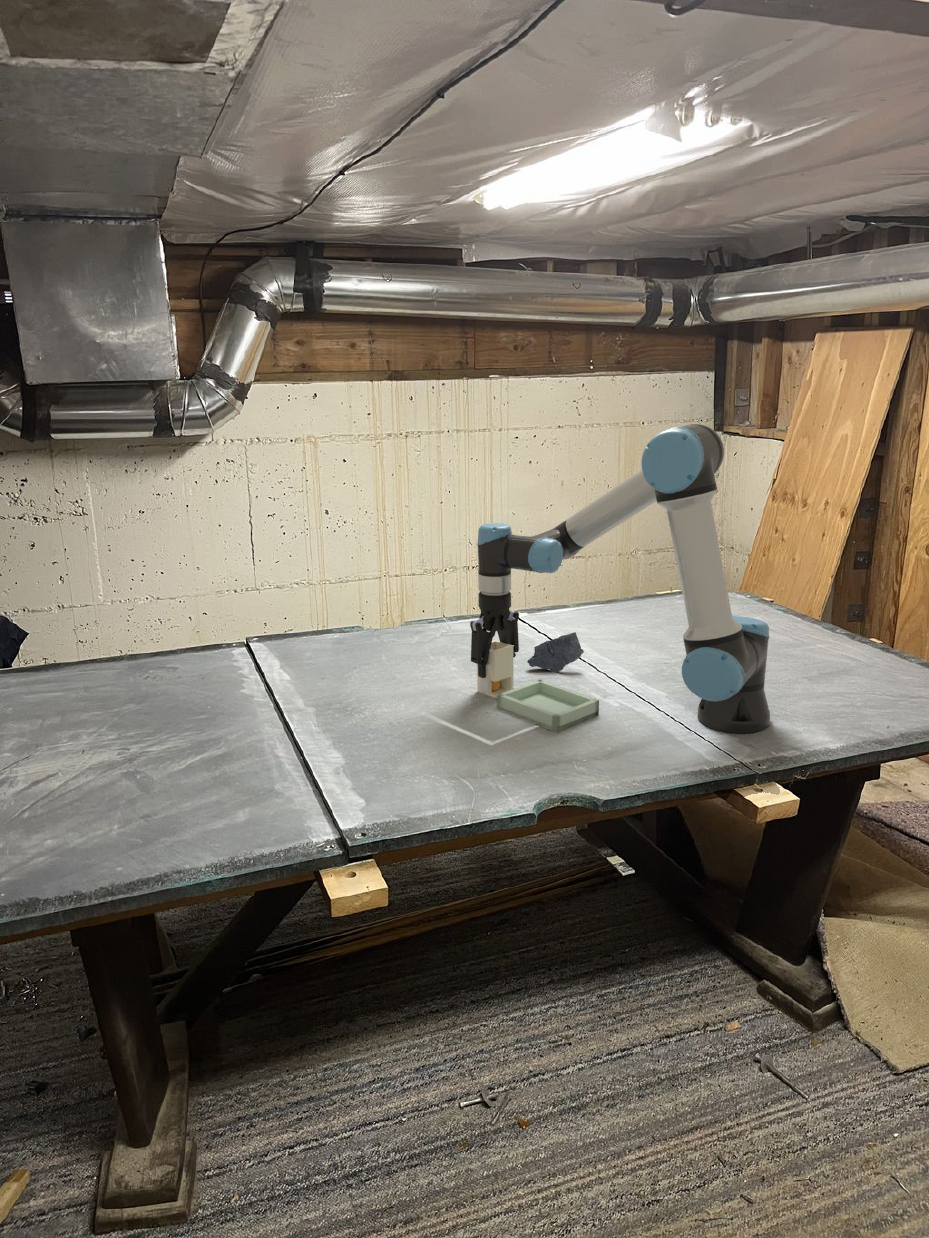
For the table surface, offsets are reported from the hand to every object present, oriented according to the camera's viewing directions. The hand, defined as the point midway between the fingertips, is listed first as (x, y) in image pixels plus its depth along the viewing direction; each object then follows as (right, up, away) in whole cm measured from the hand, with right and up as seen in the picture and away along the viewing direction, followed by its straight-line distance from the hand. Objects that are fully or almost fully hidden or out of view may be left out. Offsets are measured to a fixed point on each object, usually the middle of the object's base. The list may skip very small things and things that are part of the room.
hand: (495, 685), depth 212 cm
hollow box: (0, -2, +1) cm, 2 cm away
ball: (0, -1, 0) cm, 1 cm away
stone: (+16, +2, +16) cm, 22 cm away
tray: (+11, -5, -10) cm, 16 cm away
